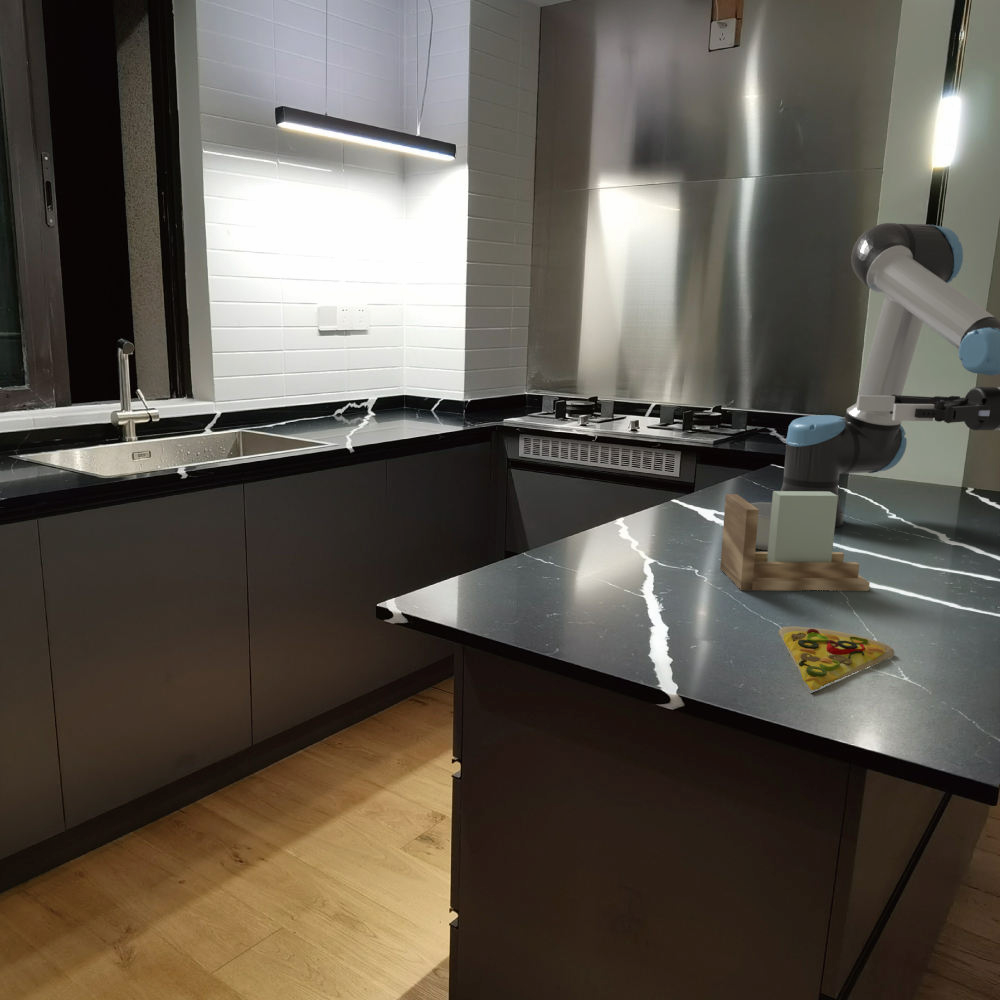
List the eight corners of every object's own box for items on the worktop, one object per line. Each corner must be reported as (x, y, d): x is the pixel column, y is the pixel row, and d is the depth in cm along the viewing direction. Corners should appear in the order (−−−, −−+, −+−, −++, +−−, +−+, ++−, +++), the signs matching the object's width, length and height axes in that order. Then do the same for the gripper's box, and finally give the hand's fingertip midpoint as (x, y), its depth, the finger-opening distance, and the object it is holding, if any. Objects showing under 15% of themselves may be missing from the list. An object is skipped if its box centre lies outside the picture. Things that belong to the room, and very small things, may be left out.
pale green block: (821, 568, 153) (829, 491, 150) (829, 574, 150) (838, 495, 147) (766, 568, 153) (773, 491, 150) (773, 574, 150) (780, 495, 147)
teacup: (799, 544, 175) (803, 505, 173) (793, 557, 166) (796, 517, 164) (729, 535, 181) (732, 498, 179) (719, 548, 171) (722, 509, 170)
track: (839, 569, 158) (847, 495, 155) (868, 590, 146) (877, 510, 143) (720, 569, 157) (725, 494, 154) (740, 590, 146) (746, 509, 143)
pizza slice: (894, 656, 121) (897, 636, 120) (876, 714, 103) (879, 691, 102) (781, 634, 128) (783, 615, 127) (746, 685, 110) (748, 663, 110)
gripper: (1037, 441, 139) (908, 439, 138) (953, 420, 163) (842, 419, 163) (1044, 394, 137) (913, 392, 137) (958, 381, 162) (846, 379, 161)
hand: (874, 407), depth 150 cm, fingers open, 13 cm apart
